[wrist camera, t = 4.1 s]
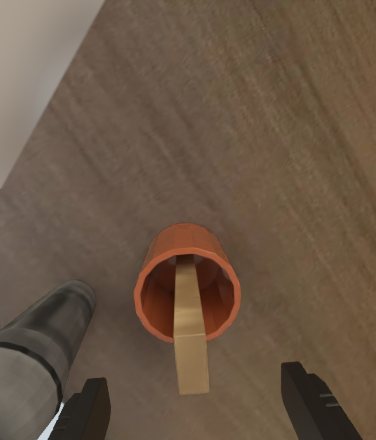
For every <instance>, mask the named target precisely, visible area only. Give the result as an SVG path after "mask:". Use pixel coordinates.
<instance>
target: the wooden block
mask: <svg viewBox="0 0 376 440" xmlns="http://www.w3.org/2000/svg"><path fill="white" fill-rule="evenodd" d="M173 338H174V349H175V359H176V369H177V379H178V390H179V395H188V394H199V393H208V392H209V391H210V389H209V374H208V359H207V344H206V332H205V326H204V319H203V313H202V306H201V300H200V294H199V287H198V281H197V274H196V268H195V261H194V255H193V254H183V255H176V275H175V304H174V334H173Z"/></svg>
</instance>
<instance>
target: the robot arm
mask: <svg viewBox="0 0 376 440" xmlns="http://www.w3.org/2000/svg"><path fill="white" fill-rule="evenodd" d="M281 393H282V399H283V403H284V406H285V408H286V411H287V413H288V415H289V418H290V420H291V422H292V425H293V427H294V429H295V432H296V434H297V436H298V439H299V440H363V439H362V438H361V436H360V435H359V433H358V432H357V430H356V429H355V427H354V426H353V424H352V423H351V421H350V420H349V418H348V417H347V415H346V414H345V412H344V411H343V409H342V408H341V406H339V403H338V401H337V400H336V398H335V397H334V396H333V394H332V392H331V391H330V389H329V388H328V386H327V385H326V383H325V382H324V381H323V380H321V379H320V378H319V377H318V376H317V375H315V374H314V373H313V374H307V373H306V371H305V369H304V368H303V366H302V364H301V363H300V362H299V361H296V362H285V363H282V364H281ZM110 414H111V405H110V398H109V393H108V387H107V381H106V378H105V377H103V378H91V379H87V381H86V383H85V385H84V387H83V390H82V392H81V393H74V394H73V396H72V397H71V398H70V399H69V400H68V401H67V402H66V403H65V405H64V407H63V409H62V411H61V413H60V415H59V418H58V420H57V421H56V423H55V426H54V427H53V431H52V432H51V434H50V436H49V438H48V440H104V439H105V435H106V432H107V428H108V425H109V421H110Z"/></svg>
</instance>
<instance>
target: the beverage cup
mask: <svg viewBox="0 0 376 440" xmlns="http://www.w3.org/2000/svg"><path fill="white" fill-rule="evenodd" d="M95 304H96V296H95V294H94V292H93V290H92V289H91V288H90V287H89V286H88V285H87V284H85V283H84V282H81V281H77V280H69V281H66V282H63V283H62V284H60V285H59V286H58V287H56V288H54V289H53V290H52V291H50V292H49V293H48V294H46V295H45V296H44V297H42V298H41V299H40V300H38V301H37V302H36V303H35V304H33V305H32V306H31V307H29V308H28V309H27V310H26V311H24V312H23V313H22V314H20V315H19V316H18V317H17V318H15V319H14V320H13V321H11V322H10V323H9V324H8V325H6V326H5V327H4V328H2V329H1V330H0V440H37V439H38V438H39V436H40V435H41V434H42V432H43V431H44V430H45V429H46V427H47V426H48V425H49V423H50V422H51V420H52V419H53V418H54V417H55V415H56V414H57V413H58V411H59V409H60V405H61V402H62V398H63V391H64V388H65V384H66V380H67V377H68V373H69V370H70V368H71V365H72V363H73V360H74V358H75V356H76V353H77V351H78V348H79V346H80V343H81V341H82V339H83V336H84V334H85V331H86V329H87V327H88V324H89V322H90V319H91V317H92V313H93V310H94V308H95Z"/></svg>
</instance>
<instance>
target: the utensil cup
mask: <svg viewBox="0 0 376 440" xmlns="http://www.w3.org/2000/svg"><path fill="white" fill-rule="evenodd" d="M183 254H193V255H194V261H195V268H196V274H197V281H198V287H199V294H200V300H201V306H202V313H203V319H204V326H205V332H206V342H207V341H209V340H211V339H213V338H216V337H218V336H219V335H221V334H222V333H223V332H224V331H225V330H226V329H227V328H228V327H229V326H230V325H231V324H232V323H233V321H234V319H235V317H236V314H237V312H238V309H239V307H240V305H241V291H240V283H239V281H238V279H237V277H236V275H235V273H234V271H233V269H232V267H231V265H230V263H229V261H228V259H227V257H226V255H225V253H224V251H223V249H222V247H221V245H220V243H219V241H218V239H217V238H216V237H215V236H214V235H213V234H212V233H211V232H210V231H209V230H207V229H205V228H204V227H202V226H199V225H196V224H191V223H181V224H175V225H172V226H170V227H167V228H166V229H164V230H162V231H161V232H160V233H159V234H158V235H157V236H156V237H155V238H154V240H153V241H152V242H151V244H150V246H149V249H148V252H147V254H146V257H145V260H144V263H143V265H142V268H141V271H140V274H139V277H138V280H137V283H136V286H135V290H134V302H135V309H136V313H137V315H138V317H139V318H140V320H141V322H142V323H143V325H144V326H145V328H146V329H147V330H148V331H150V332H151V333H152V334H154V335H155V336H156V337H158V338H159V339H161V340H162V341H166V342H169V343H173V344H174V338H173V334H174V304H175V275H176V255H183Z"/></svg>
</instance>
